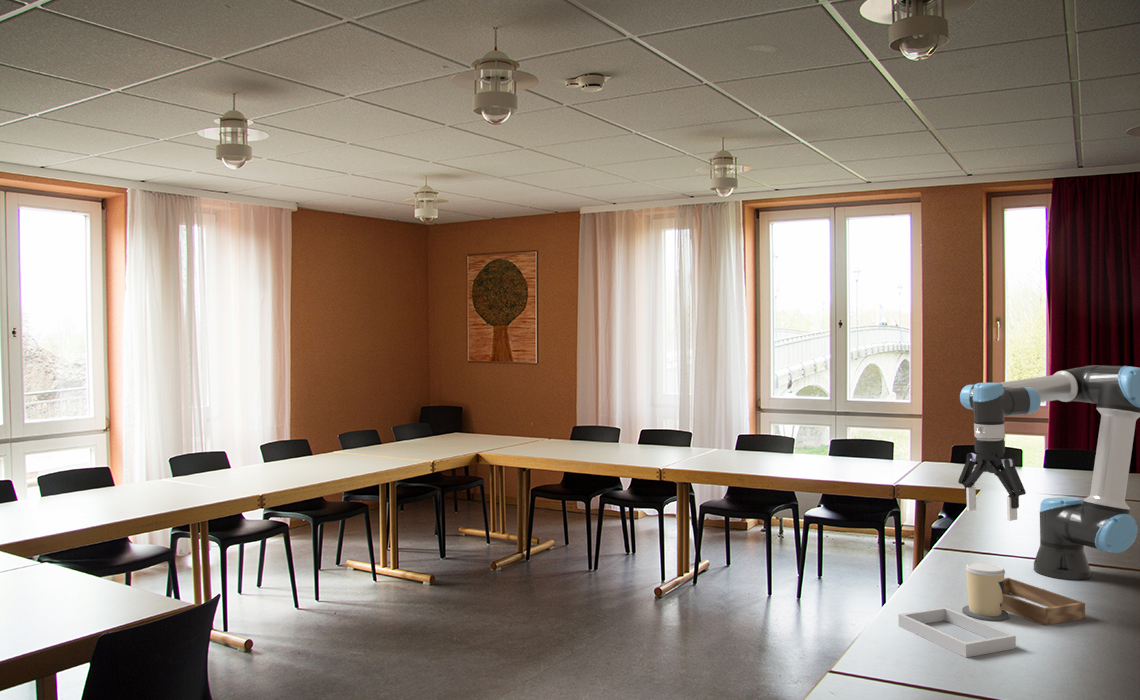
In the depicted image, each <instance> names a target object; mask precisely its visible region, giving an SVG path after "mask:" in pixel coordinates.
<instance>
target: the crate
mask: <svg viewBox="0 0 1140 700" xmlns="http://www.w3.org/2000/svg"><path fill="white" fill-rule="evenodd" d="M1005 593H1006V594H1005ZM1009 594H1010V595H1009ZM1011 595H1014V596H1016V597H1014V596H1011ZM1017 597H1019V598H1017ZM1020 598H1022V599H1024V598H1025V600H1028V601H1025V600H1022V599H1020ZM1029 601H1030V602H1029ZM1031 602H1033V603H1031ZM1034 603H1037V604H1039V605H1036V604H1034ZM1040 605H1041V606H1040ZM1043 606H1045V607H1043ZM1002 610H1005V611H1006V612H1008V613H1011V614H1013V615H1016V616H1018V617H1022V618H1024V619H1027V620H1030V621H1033V622H1034V623H1037V624H1039V625H1041V626H1049V625H1055V624H1060V623H1061V624H1062V623H1067V622H1072V621H1079V620H1084V619H1086V603H1085V602H1083V601H1079V600H1078V599H1077V600H1076V599H1073V598H1072V597H1071V598H1070V597H1068V596H1065V595H1061V594H1059V593H1056V592H1053V591H1050V590H1046V589H1044V588H1040V587H1038V586H1035V585H1032V584H1029V583H1026V582H1024V581H1020V580H1016V579H1013V578H1011V577H1004V589H1003V602H1002Z"/></svg>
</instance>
